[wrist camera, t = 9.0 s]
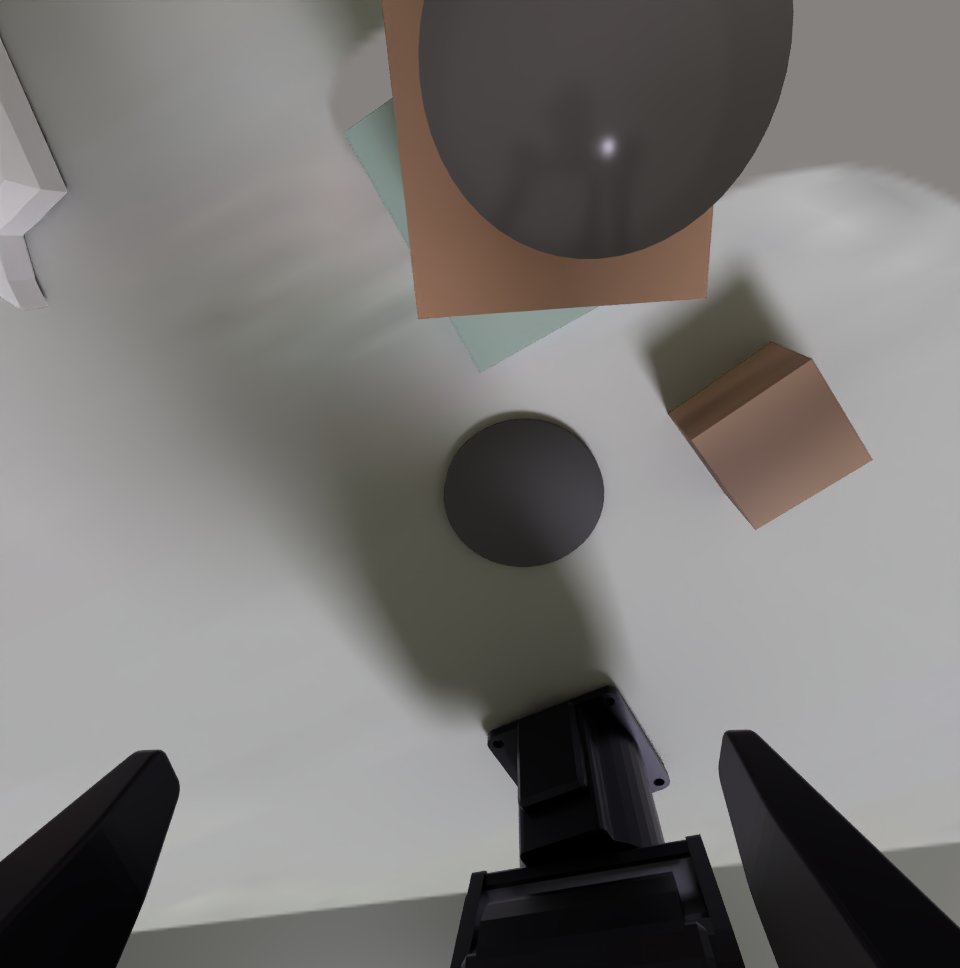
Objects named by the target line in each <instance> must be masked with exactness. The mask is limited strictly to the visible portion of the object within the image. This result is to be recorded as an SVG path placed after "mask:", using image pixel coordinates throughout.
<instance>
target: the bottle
mask: <svg viewBox="0 0 960 968" xmlns="http://www.w3.org/2000/svg"><path fill="white" fill-rule="evenodd" d="M382 8H383V16H384V25H385V34H386V43H387V51H388V60H389V68H390V78H391V86H392V95H393V104H394V113H395V121H396V130H397V139H398V148H399V156H400V165H401V174H402V183H403V191H404V200H405V209H406V218H407V226H408V235H409V244H410V253H411V261H412V270H413V279H414V288H415V296H416V305H417V314H418V319H426V318H440V317H453V316H467V315H481V314H495V313H508V312H522V311H536V310H549V309H563V308H577V307H591V306H604V305H618V304H632V303H646V302H659V301H673V300H687V299H701V298H706V295H707V282H708V269H709V256H710V242H711V229H712V216H713V204H715V203H716V202H717V201H718V200H719V199H720V198H721V197H722V196H723V195H724V194H725V192H726V191H727V190H728V189H729V188H730V186H731V185H732V184H733V183H734V182H735V180H736V179H737V178H738V177H739V175H740V174H741V173H742V171H743V170H744V168H745V167H746V165H747V164H748V162H749V160H750V159H751V157H752V156H753V154H754V153H755V151H756V149H757V147H758V146H759V144H760V142H761V140H762V138H763V136H764V134H765V132H766V130H767V128H768V126H769V124H770V121H771V118H772V116H773V113H774V111H775V108H776V106H777V103H778V100H779V97H780V94H781V90H782V86H783V83H784V79H785V76H786V72H787V66H788V60H789V55H790V49H791V42H792V26H793V0H382Z"/></svg>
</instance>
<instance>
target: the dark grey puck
mask: <svg viewBox="0 0 960 968" xmlns="http://www.w3.org/2000/svg"><path fill="white" fill-rule="evenodd" d="M603 502H604V485H603V479H602V475H601V472H600V469H599V467H598V464H597V462H596V460H595V458H594V456H593V455H592V453H591V452H590V450H589V449H588V448H587V447H586V445H585V444H584V443H583V442H582V441H581V440H580V439H578V438H577V437H576V436H575V435H573V434H572V433H570V432H569V431H567V430H566V429H564V428H562V427H560V426H557V425H555V424H552V423H549V422H545V421H540V420H532V419H516V420H510V421H504V422H501V423H498V424H494V425H492V426H490V427H488V428H485V429H484V430H482V431H480V432H479V433H477V434H475V435H474V436H473V437H472V438H471V439H469V440H468V441H467V442H466V443H465V444H464V445H463V446H462V447H461V448H460V450H459V451H458V453H457V454H456V455H455V457H454V459H453V461H452V463H451V465H450V467H449V470H448V473H447V476H446V481H445V486H444V503H445V509H446V513H447V516H448V519H449V521H450V524H451V526H452V527H453V529H454V531H455V532H456V534H457V535H458V536H459V538H460V539H461V540H462V541H463V542H464V543H465V544H466V545H467V546H468V547H469V548H470V549H472V550H473V551H474V552H476V553H477V554H479V555H481V556H482V557H484V558H486V559H488V560H491V561H493V562H496V563H499V564H503V565H508V566H517V567H531V566H538V565H543V564H547V563H551V562H553V561H556V560H558V559H561V558H562V557H564V556H566V555H568V554H570V553H571V552H572V551H574V550H575V549H577V548H578V547H579V546H580V545H581V544H582V543H583V542H584V541H585V540H586V539H587V538H588V537H589V535H590V534H591V533H592V531H593V530H594V528H595V526H596V524H597V522H598V520H599V518H600V515H601V512H602V508H603Z"/></svg>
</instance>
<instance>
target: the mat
mask: <svg viewBox="0 0 960 968" xmlns="http://www.w3.org/2000/svg"><path fill="white" fill-rule="evenodd" d="M344 135H345V136H346V138H347V140H348V142H349V143H350V145H351V147H352V149H353V150H354V152H355V154H356V156H357V157H358V159H359V161H360V163H361V164H362V166H363V168H364V170H365V172H366V173H367V175H368V177H369V179H370V180H371V182H372V184H373V186H374V187H375V189H376V191H377V193H378V194H379V196H380V198H381V200H382V201H383V203H384V205H385V207H386V208H387V210H388V212H389V214H390V215H391V217H392V219H393V221H394V222H395V224H396V226H397V228H398V229H399V231H400V233H401V235H402V236H403V238H404V240H405V242H406V243H407V245H408V247H409V249H410V244H409V235H408V226H407V218H406V209H405V200H404V191H403V183H402V174H401V165H400V156H399V148H398V139H397V130H396V121H395V113H394V104H393V98H392V99H390V100H389V101H388V102H386V103H385V104H383V105H382V106H380V107H379V108H378V109H376V110H375V111H374V112H372V113H371V114H369V115H368V116H366V117H365V118H364V119H362V120H361V121H360V122H358V123H357V124H355V125H354V126H353V127H351V128H350V129H348V130H347V131H346V132H344ZM597 307H599V306H591V307H577V308H563V309H549V310H536V311H522V312H508V313H495V314H481V315H467V316H453V317H449V319H450V321H451V322H452V324H453V326H454V328H455V329H456V331H457V333H458V335H459V336H460V338H461V340H462V342H463V343H464V345H465V347H466V349H467V350H468V352H469V354H470V356H471V357H472V359H473V361H474V363H475V364H476V366H477V368H478V370H479V372H482V371H484V370H486V369H488V368H489V367H491V366H493V365H495V364H497V363H498V362H500V361H502V360H504V359H505V358H507V357H509V356H511V355H513V354H514V353H516V352H518V351H520V350H522V349H523V348H525V347H527V346H529V345H531V344H532V343H534V342H536V341H538V340H539V339H541V338H543V337H545V336H547V335H548V334H550V333H552V332H554V331H556V330H557V329H559V328H561V327H563V326H565V325H566V324H568V323H570V322H572V321H573V320H575V319H577V318H579V317H581V316H582V315H584V314H586V313H588V312H590V311H591V310H593V309H595V308H597Z"/></svg>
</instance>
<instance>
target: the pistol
mask: <svg viewBox="0 0 960 968" xmlns="http://www.w3.org/2000/svg"><path fill="white" fill-rule="evenodd" d="M67 193H68V191H67V189H66V187H65V184H64V182H63V180H62V178H61V175H60V173H59V171H58V168H57V166H56V164H55V162H54V159H53V157H52V155H51V152H50V150H49V148H48V146H47V143H46V141H45V139H44V136H43V134H42V132H41V130H40V127H39V125H38V123H37V121H36V118H35V116H34V114H33V111H32V109H31V107H30V105H29V102H28V100H27V98H26V95H25V93H24V91H23V89H22V86H21V84H20V82H19V79H18V77H17V75H16V73H15V70H14V68H13V66H12V63H11V61H10V59H9V57H8V54H7V52H6V50H5V48H4V45H3V43H2V41H1V38H0V297H2V298H3V299H5V300H6V301H8V302H9V303H11V304H12V305H14V306H16V307H17V308H19V309H20V310H22V311H23V310H30V309H37V308H44V307H48V306H47V303H46V301H45V299H44V297H43V295H42V293H41V291H40V289H39V287H38V284H37V282H36V280H35V274H34V271H33V267H32V263H31V260H30V256H29V253H28V249H27V246H26V242H25V238H24V234H25V233H26V232H27V231H29V230H30V229H31V228H32V227H33V226H34V225H35V224H37V223H38V222H39V221H40V220H41V219H42V218H43V217H44V216H45V215H46V213H47V212H48V211H49V210H50V209H51V208H52V207H53V206H54V205H55V204H56V203H57V202H58V201H59V200H60V199H61V198H62V197H64V196H65V195H66V194H67Z"/></svg>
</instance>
